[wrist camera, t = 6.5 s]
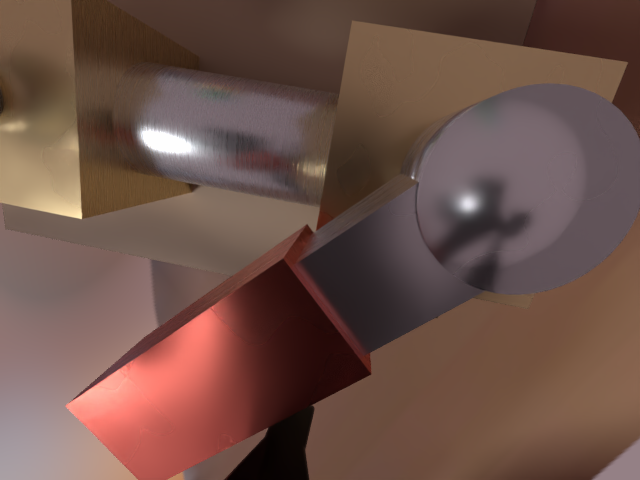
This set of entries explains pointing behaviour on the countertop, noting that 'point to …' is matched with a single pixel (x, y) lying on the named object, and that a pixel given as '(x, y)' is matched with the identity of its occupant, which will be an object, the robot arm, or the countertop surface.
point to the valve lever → (378, 275)
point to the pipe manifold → (232, 112)
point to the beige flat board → (269, 66)
